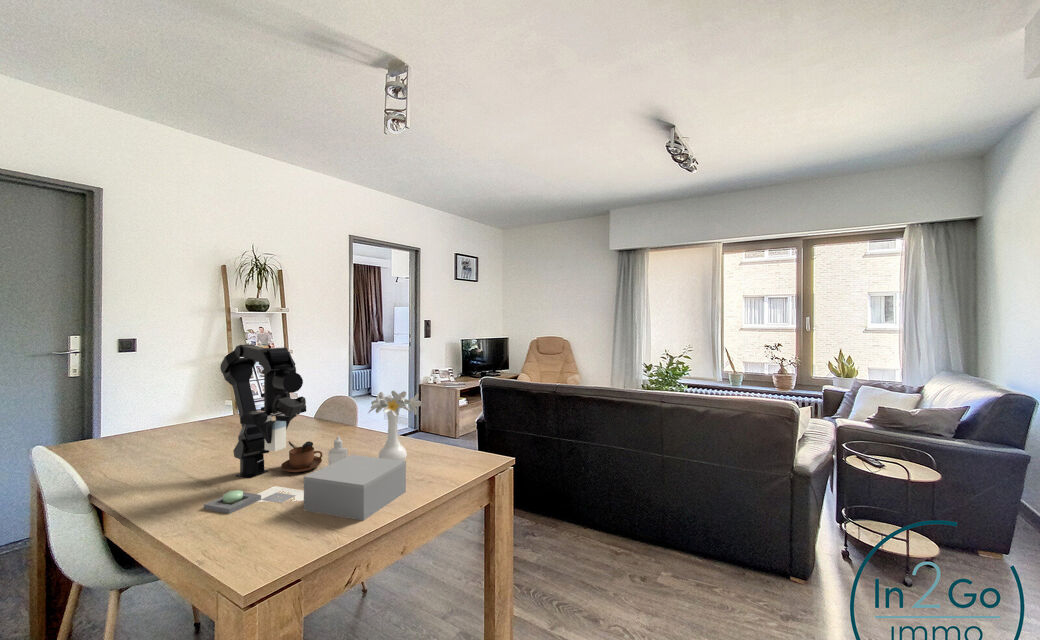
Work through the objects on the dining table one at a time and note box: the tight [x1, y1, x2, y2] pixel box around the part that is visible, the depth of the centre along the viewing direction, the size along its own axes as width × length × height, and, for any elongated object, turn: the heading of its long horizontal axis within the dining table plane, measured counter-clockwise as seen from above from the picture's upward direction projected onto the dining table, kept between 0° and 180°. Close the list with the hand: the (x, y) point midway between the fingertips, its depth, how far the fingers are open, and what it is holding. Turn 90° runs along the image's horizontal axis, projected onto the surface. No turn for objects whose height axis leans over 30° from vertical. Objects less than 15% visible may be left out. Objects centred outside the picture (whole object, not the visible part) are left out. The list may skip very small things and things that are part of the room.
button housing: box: [203, 491, 261, 515], centre depth 113 cm, size 9×9×2 cm
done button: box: [222, 489, 244, 504], centre depth 113 cm, size 4×4×2 cm
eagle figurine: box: [288, 440, 314, 453], centre depth 144 cm, size 8×7×9 cm
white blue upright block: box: [265, 419, 287, 452], centre depth 128 cm, size 4×4×8 cm
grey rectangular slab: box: [303, 454, 407, 521], centre depth 115 cm, size 18×18×9 cm
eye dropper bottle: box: [327, 435, 349, 466], centre depth 137 cm, size 4×6×12 cm
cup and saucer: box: [280, 446, 323, 473], centre depth 140 cm, size 12×12×6 cm
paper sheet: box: [256, 485, 304, 504], centre depth 117 cm, size 16×12×1 cm
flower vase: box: [367, 390, 423, 461], centre depth 145 cm, size 13×18×25 cm
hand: (275, 441), depth 128 cm, fingers closed on white blue upright block, 4 cm apart
